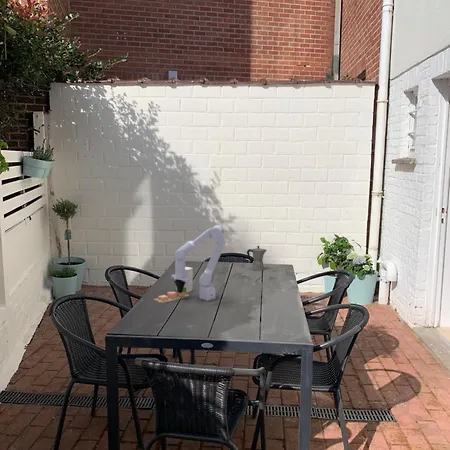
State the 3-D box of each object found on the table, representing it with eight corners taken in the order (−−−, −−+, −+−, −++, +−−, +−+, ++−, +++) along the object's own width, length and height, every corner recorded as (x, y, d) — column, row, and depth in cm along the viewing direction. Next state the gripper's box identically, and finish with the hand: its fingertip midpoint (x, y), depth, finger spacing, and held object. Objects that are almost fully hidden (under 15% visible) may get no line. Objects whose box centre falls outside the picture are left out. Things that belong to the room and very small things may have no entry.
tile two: (176, 298, 275) (176, 292, 274) (171, 299, 272) (171, 293, 271) (172, 297, 278) (172, 291, 277) (167, 298, 275) (166, 292, 274)
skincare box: (175, 292, 291) (175, 267, 289) (181, 290, 297) (181, 265, 295) (187, 294, 287) (187, 269, 285) (193, 292, 293) (193, 267, 291)
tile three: (168, 302, 271) (168, 296, 270) (162, 303, 268) (162, 297, 268) (164, 300, 274) (164, 294, 273) (158, 302, 271) (158, 295, 270)
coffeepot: (264, 267, 362) (264, 244, 360) (268, 270, 353) (268, 246, 351) (244, 268, 359) (245, 245, 356) (248, 271, 350) (248, 247, 347)
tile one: (185, 298, 279) (185, 292, 278) (179, 299, 276) (179, 293, 276) (180, 296, 282) (180, 290, 281) (175, 298, 279) (175, 292, 278)
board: (189, 298, 279) (189, 295, 278) (161, 305, 265) (161, 302, 265) (181, 296, 284) (181, 292, 284) (153, 302, 271) (153, 299, 271)
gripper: (167, 268, 279) (167, 290, 281) (182, 272, 269) (182, 296, 270) (176, 266, 284) (176, 288, 286) (192, 271, 273) (192, 294, 275)
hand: (180, 292), depth 278 cm, fingers closed, pressing on tile one
